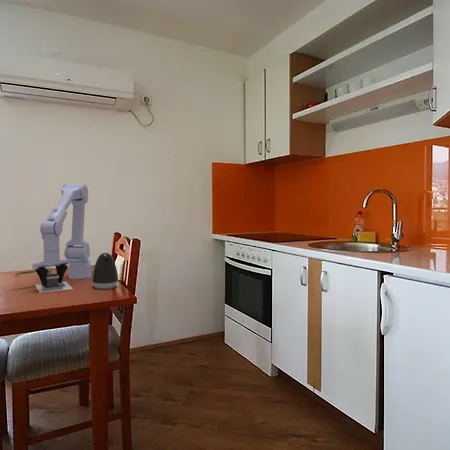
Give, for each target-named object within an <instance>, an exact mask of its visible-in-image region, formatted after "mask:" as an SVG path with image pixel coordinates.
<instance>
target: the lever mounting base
mask: <svg viewBox="0 0 450 450" xmlns="http://www.w3.org/2000/svg"><path fill="white" fill-rule="evenodd" d="M47 274H52V270H48V272H47ZM62 283H64V284H65V286H62V285H61V284H58V287H52V288H46V286H42V284H41V283H40V284H35V287H36V289H37V291H38V293H39V294H40V293H48V292H57V291H66V290H73V289H74V288H73V287H72V286H71V285H70V284H69V282H67V281H62Z"/></svg>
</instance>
